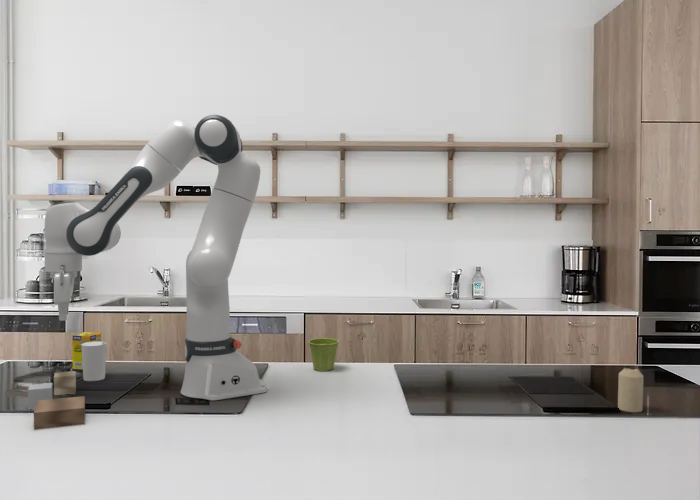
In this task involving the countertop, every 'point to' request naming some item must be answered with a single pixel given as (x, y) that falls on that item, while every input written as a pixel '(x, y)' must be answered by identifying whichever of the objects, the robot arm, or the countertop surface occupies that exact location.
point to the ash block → (65, 383)
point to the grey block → (39, 393)
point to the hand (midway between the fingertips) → (63, 317)
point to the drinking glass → (93, 360)
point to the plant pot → (323, 353)
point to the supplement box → (77, 348)
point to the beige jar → (630, 390)
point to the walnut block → (59, 412)
